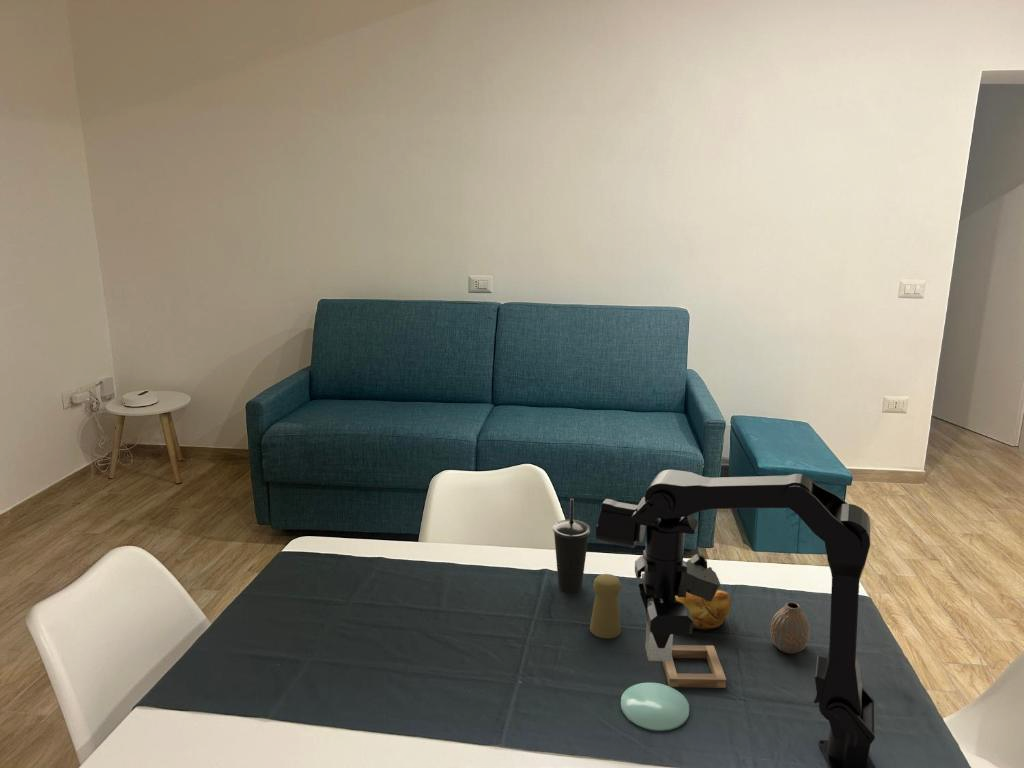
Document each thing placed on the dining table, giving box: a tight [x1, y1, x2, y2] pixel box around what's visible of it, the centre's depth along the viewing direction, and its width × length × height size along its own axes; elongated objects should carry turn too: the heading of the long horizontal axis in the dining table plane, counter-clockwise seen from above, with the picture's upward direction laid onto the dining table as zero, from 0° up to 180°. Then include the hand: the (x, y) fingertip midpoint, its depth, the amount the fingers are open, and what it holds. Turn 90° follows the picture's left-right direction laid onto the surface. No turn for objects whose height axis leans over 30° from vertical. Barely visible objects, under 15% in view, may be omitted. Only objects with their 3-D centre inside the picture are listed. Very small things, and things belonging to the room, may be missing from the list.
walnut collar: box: [661, 644, 727, 689], centre depth 139 cm, size 10×10×2 cm
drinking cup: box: [552, 498, 591, 594], centre depth 163 cm, size 8×8×20 cm
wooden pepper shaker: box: [589, 573, 622, 639], centre depth 150 cm, size 6×6×11 cm
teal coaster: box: [620, 682, 690, 732], centre depth 130 cm, size 11×11×1 cm
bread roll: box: [675, 589, 732, 631], centre depth 153 cm, size 13×10×8 cm
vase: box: [769, 601, 811, 655], centre depth 145 cm, size 7×7×9 cm
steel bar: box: [644, 598, 674, 662], centre depth 126 cm, size 4×4×9 cm
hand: (659, 640), depth 127 cm, fingers closed on steel bar, 4 cm apart
